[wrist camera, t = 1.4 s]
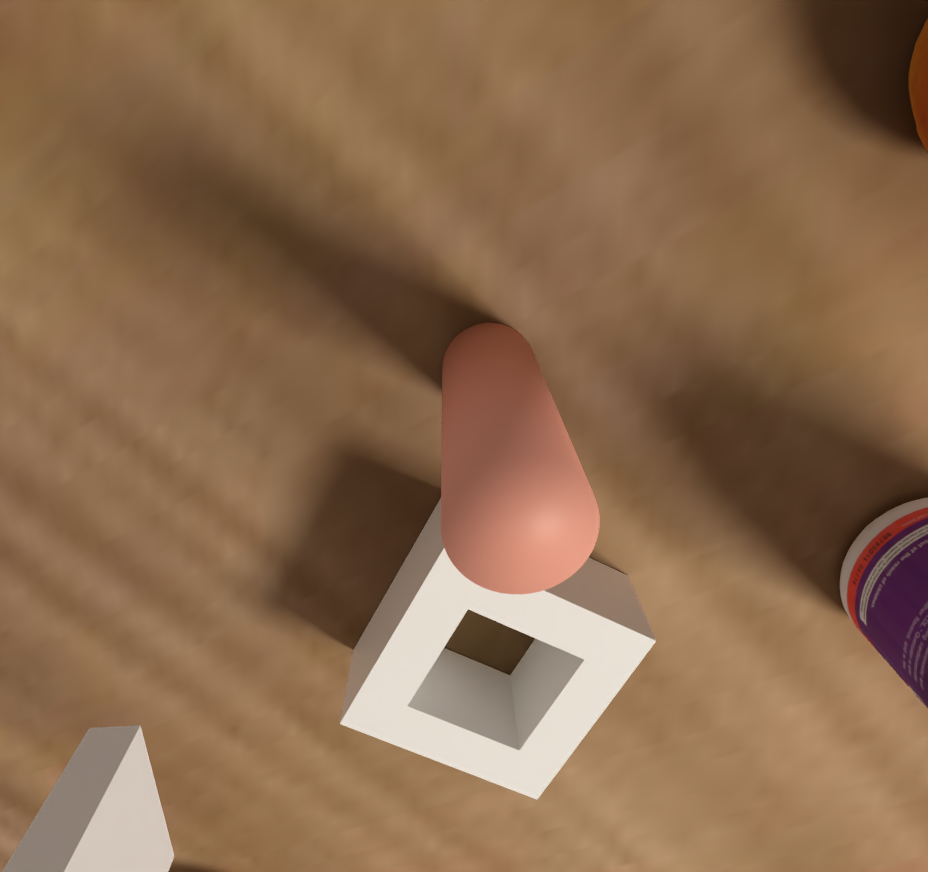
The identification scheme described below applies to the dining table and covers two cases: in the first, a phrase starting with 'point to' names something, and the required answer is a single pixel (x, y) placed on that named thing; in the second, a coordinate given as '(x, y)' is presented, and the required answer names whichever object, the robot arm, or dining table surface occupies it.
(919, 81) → the fruit
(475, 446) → the peg
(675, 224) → the dining table surface
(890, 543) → the pill bottle
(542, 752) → the socket block
